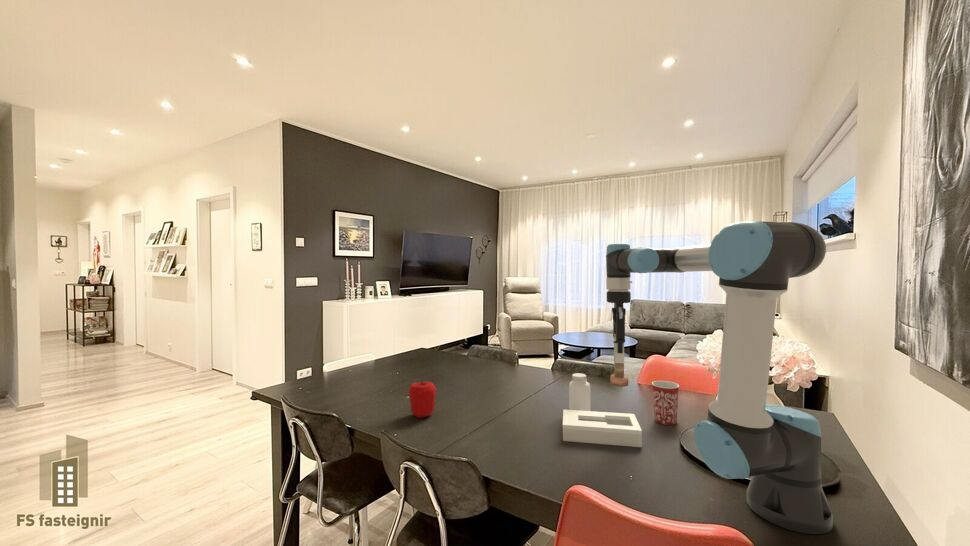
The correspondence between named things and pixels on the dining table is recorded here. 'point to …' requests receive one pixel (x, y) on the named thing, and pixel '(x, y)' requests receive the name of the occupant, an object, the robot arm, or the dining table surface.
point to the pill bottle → (579, 393)
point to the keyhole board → (601, 428)
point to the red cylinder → (422, 398)
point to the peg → (618, 373)
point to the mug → (665, 402)
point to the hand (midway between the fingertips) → (619, 361)
